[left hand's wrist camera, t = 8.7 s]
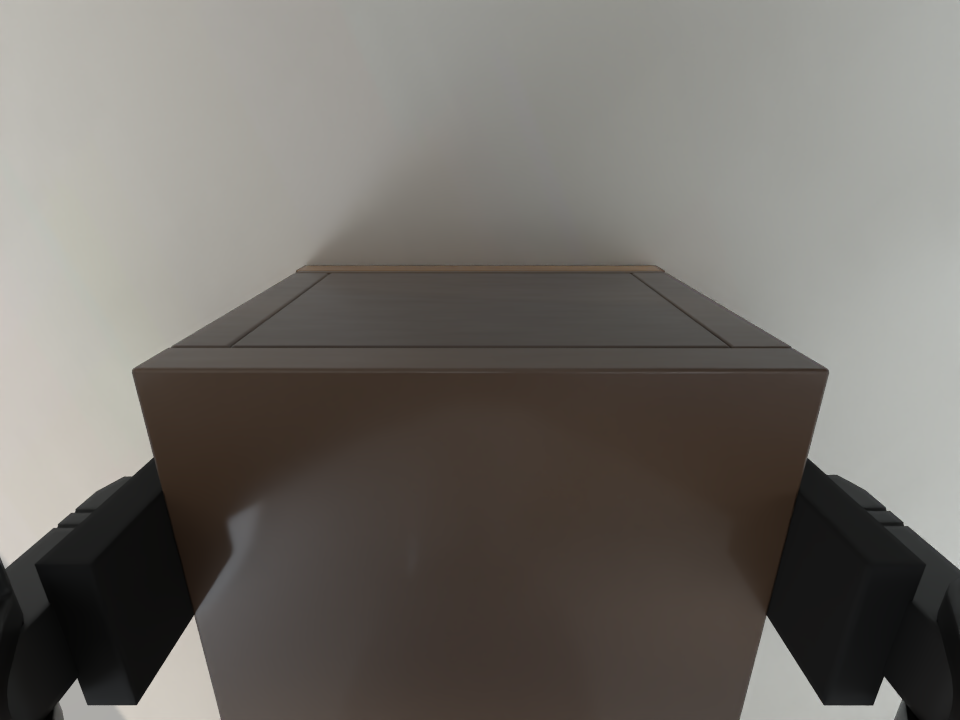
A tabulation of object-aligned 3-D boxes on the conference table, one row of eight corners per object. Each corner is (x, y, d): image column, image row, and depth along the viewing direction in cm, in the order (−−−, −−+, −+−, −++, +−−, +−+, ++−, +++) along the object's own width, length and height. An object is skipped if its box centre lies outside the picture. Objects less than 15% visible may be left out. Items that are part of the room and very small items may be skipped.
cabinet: (615, 604, 20) (699, 881, 12) (345, 604, 20) (260, 880, 12) (656, 265, 16) (832, 369, 8) (304, 265, 16) (128, 368, 8)
